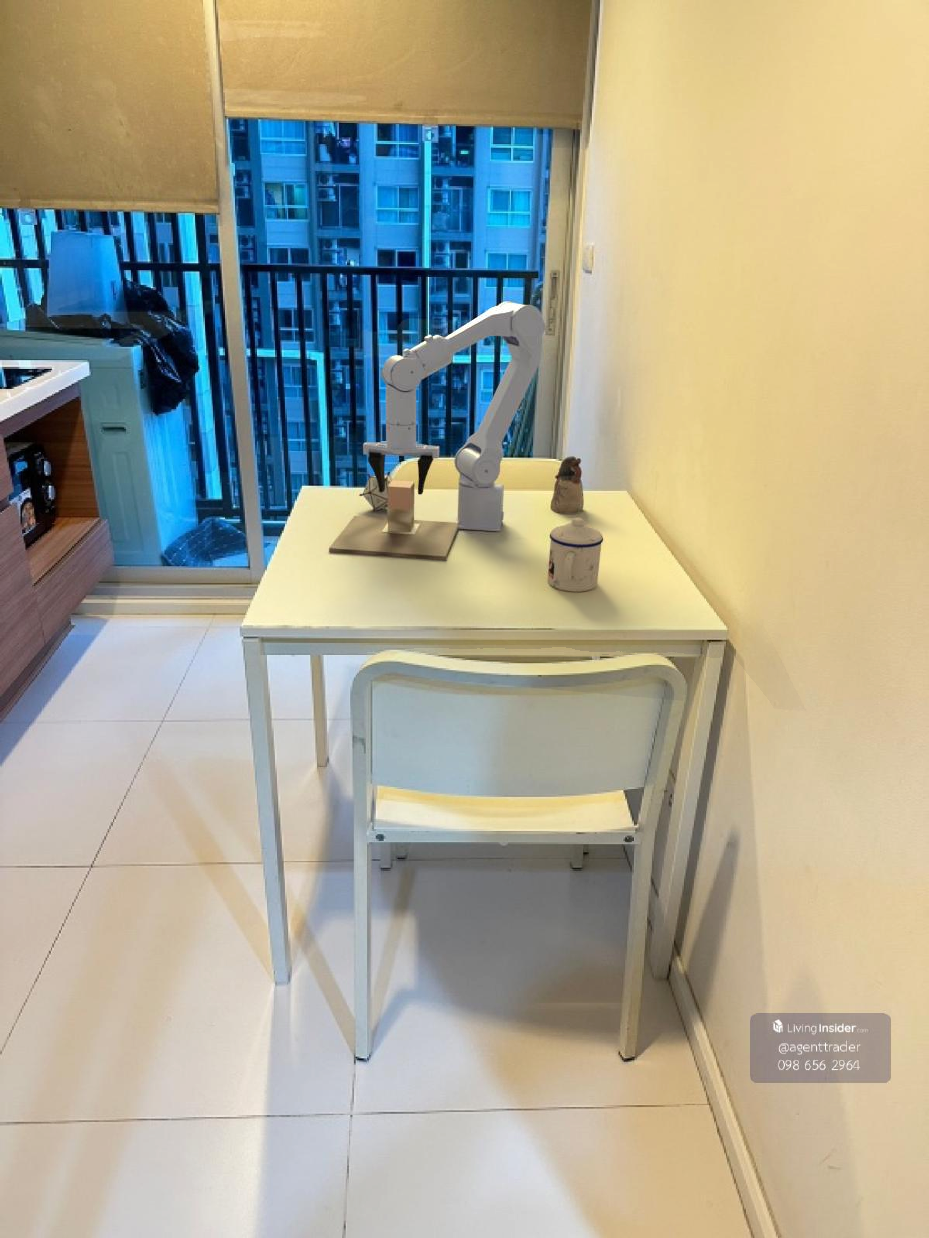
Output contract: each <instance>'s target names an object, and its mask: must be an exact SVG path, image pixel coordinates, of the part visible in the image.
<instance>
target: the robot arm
mask: <svg viewBox="0 0 929 1238" xmlns="http://www.w3.org/2000/svg"><path fill="white" fill-rule="evenodd" d="M546 326H547V325H546V324H545V320H544V318H543V315H542V313H541V311H540V310H539V308H537V307H536V306H534V305H531V304H523V303H522V304H520V303H516V302H513V301H503V302H501V303H499V304H498V305H497V306H496V305H495V306H494V307H491V308H489V309H488V310H486V311H485V312H484V313H481V315H479V316H477V317H476V318H474V319H473V320H471V321H470V322H468V323H466V324H465V325H463V326H461V327H460V328H458V329H456V330H455V331H453V332H452V333H450V334H448V335H447V336H445V337H444V336H441V335H439V334H435V335H432V334H428V335H426V336H424V338H423V339H424V341H423V342H421V343H419V344H417V345H416V346H413V347H411V348H410V349H409V348H405V349H403V350H402V355H392V356H390V357H389V358H386V360H385V363H383V367H382V370H380V376H381V379H382V380H383V382H384V383H385V436H386V437H385V442H382V441H380V442H367V441H366V442H364V443H363V445H362V448H363V449H362V452H363V455H365V456H366V455H368V458H367V461H368V463H369V465H370V467H371V470H372V472H373V473H374V476H376V479H377V482H378V486H379V492H383V491H384V490H385V475H386V474H385V470H386V469H385V467H386V466H385V465H386V464H385V463H386V456H400V457H401V456H403V457H419V458H418V460H417V470H418V482H417V483H418V485H417V495H423V493H424V488H425V482H426V478H427V476H428V473H429V470H430V469H431V465H432V464H433V461H434V459H438V458H440V446H439V445H437V446H436V445H427V444H421V443H417V388H418V387H419V386H420V383H421V381H422V380H424V379H425V378H427V377H428V376H430V375H432V374H434V373H436V372H437V371H439V370H441V369H443V368H445V367H447V366H448V365H450V364H452V361H453V358H454V356H455V354H456V353H458V352H460V351H462V350H464V349H466V348H468V347H471V346H472V345H474V344H476V343H478V342H481V341H482V340H485V339H486V338H488V337H491V336H494V337H501V338H502V340H503V341H504V342H505V343H506V346H507V349H508V351H509V355H510V357H511V359H510V360H509V363H508V365H507V367H506V369H505V371H504V372H503V375H502V377H501V380H500V382H499V384H498V386H497V388H496V390H495V392H494V394H493V397H492V399H491V401H490V403H489V406H488V408H487V409H486V411H485V414H484V417H483V419H482V420H481V423H480V425H479V427H478V429H477V431H476V432H474V433H473V434H472V435H470V436H469V437H468V438H467V440H466V442H465V444H464V445H463V446H462V447H461V448H459V450H458V451H457V452H456V454H455V456H454V460H453V461H454V463H453V464H454V467H455V469H456V472H458V473H459V477H458V490H457V491H458V492H457V494H458V495H457V517H456V519H455V522H454V523H459V527H458V530H470V531H471V530H473V531H487V532H489V531H490V532H500V530H501V528H502V527H501V526H502V523H503V521H504V515H505V512H504V509H503V508H504V493H505V492H504V491H505V488H504V487H505V485H504V484H501V483H496V480H497V479H498V478H499V475H500V473H501V462H502V460H503V457H504V450H503V449H504V448H503V441H504V439H505V436H506V435H507V432H508V430H509V429H510V426H511V424H512V422H513V420H514V417H515V415H516V414H517V413H518V409H519V407H520V405H521V403H522V401H523V399H524V397H525V394H526V392H527V391H528V388H529V387H530V384H531V382H532V380H533V378H534V377H535V374H536V371H537V369H538V368H539V367H538V366H539V365H540V364H541V363H540V362H541V360H542V353H543V352H542V351H543V350H542V348H543V347H542V346H543V345H542V344H543V335H544V333H545V330H546V328H547V327H546Z"/></svg>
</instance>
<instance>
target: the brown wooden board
mask: <svg viewBox="0 0 929 1238" xmlns="http://www.w3.org/2000/svg"><path fill="white" fill-rule="evenodd" d="M458 527H459V523H455V522H451V521H437V520H422V519H421V520H420V519H414V526H413V528H412V530H411V531H410V532H400V531H388V517H377V516H376V517H374V516H364V515H363V516H362V515H354V516H353V517H352V518H351V519H350V521H349V522H348V523H347V525H346V526H345V527H344V528H343V530H342V531H341V532H340V534H338V536H337V537H336V539H335V540H334V541H333V542H332V544H330V546H329V548H328V552H329V553H338V554H349V555H350V554H353V555H365V556H367V555H369V556H381V557H392V558H406V559H418V560H419V559H421V560H424V559H425V560H433V561H434V560H435V561H447V558H448V556H449V553H450V550H451V548H452V545H453V543H454V541H455V537H456V536H457V533H458V530H459V529H458Z"/></svg>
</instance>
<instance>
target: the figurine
mask: <svg viewBox="0 0 929 1238" xmlns="http://www.w3.org/2000/svg"><path fill="white" fill-rule="evenodd" d="M581 463H582V460H581V458H579V457H575V456H574V455H569V456H566V458H564V459H563V460H562V461H561V463H560V465H559V468H558V473H557V474H556V475H555V479H556V481H555V484H554V488H553V493H552V498H551V500H550V505H549V506H550V510H551V511H552V512H554V513H559V514H562V515H564V514H565V515H575V514H576V513H577V514H580V513H582V512H583V509H584V501H585V500H584V490H583V487H584V486H583V482H582V479H581V478H582V468H581V467H580V464H581ZM581 511H582V512H581Z"/></svg>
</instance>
